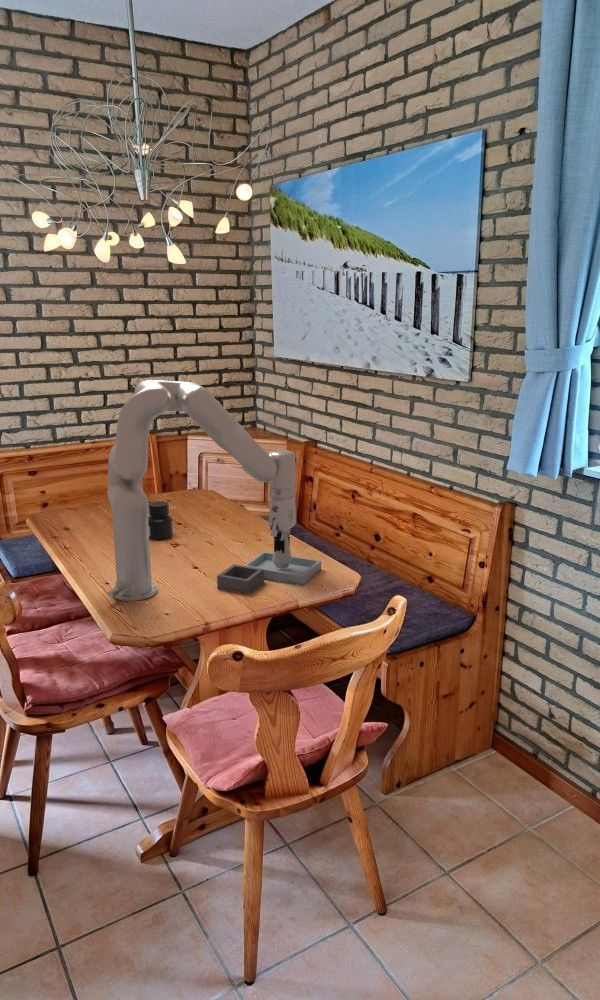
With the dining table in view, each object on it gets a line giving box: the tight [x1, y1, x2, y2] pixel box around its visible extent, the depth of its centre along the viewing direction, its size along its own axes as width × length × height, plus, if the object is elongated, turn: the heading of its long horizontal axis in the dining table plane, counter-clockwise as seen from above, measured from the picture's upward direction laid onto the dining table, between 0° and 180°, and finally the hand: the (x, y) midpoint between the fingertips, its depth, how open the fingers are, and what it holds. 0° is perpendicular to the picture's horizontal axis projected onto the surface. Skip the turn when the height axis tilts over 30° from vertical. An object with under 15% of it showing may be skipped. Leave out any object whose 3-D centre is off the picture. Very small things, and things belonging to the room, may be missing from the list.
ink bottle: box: [148, 500, 174, 541], centre depth 247 cm, size 10×9×12 cm
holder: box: [216, 563, 265, 595], centre depth 207 cm, size 10×10×4 cm
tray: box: [242, 550, 322, 587], centre depth 217 cm, size 14×20×3 cm
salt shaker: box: [272, 528, 292, 569], centre depth 214 cm, size 6×6×13 cm
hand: (281, 549), depth 215 cm, fingers closed on salt shaker, 3 cm apart
